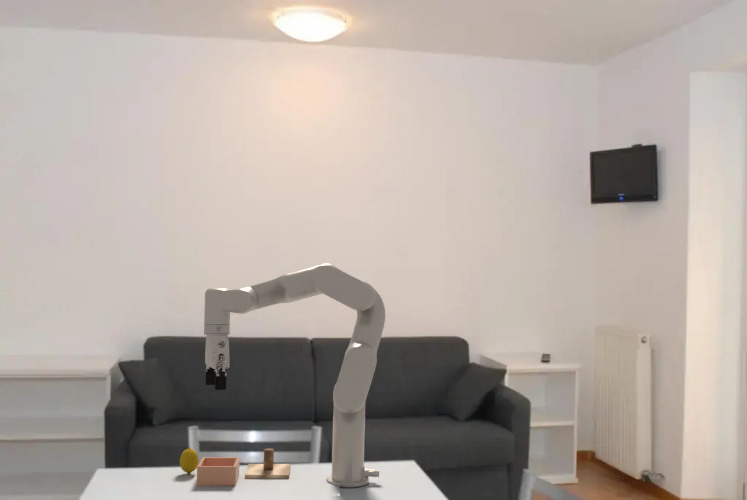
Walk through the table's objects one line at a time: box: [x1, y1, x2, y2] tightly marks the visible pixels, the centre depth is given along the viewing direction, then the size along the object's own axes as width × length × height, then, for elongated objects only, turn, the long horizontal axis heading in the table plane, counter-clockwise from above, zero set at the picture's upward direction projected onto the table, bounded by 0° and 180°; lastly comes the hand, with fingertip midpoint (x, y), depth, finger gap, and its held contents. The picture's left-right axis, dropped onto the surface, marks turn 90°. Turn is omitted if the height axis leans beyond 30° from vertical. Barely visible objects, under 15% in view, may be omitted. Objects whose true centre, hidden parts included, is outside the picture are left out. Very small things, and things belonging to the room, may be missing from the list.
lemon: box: [179, 447, 199, 475], centre depth 242 cm, size 6×6×8 cm
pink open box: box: [196, 456, 241, 487], centre depth 234 cm, size 11×11×6 cm
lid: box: [244, 448, 291, 479], centre depth 244 cm, size 13×13×7 cm
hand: (215, 387), depth 237 cm, fingers open, 9 cm apart
